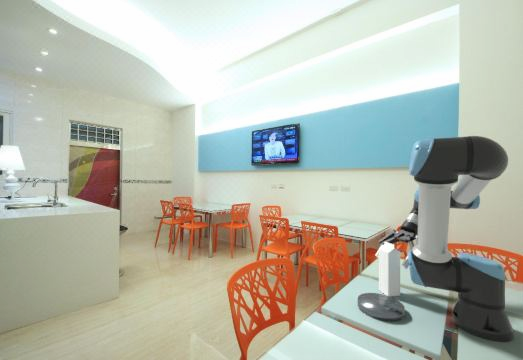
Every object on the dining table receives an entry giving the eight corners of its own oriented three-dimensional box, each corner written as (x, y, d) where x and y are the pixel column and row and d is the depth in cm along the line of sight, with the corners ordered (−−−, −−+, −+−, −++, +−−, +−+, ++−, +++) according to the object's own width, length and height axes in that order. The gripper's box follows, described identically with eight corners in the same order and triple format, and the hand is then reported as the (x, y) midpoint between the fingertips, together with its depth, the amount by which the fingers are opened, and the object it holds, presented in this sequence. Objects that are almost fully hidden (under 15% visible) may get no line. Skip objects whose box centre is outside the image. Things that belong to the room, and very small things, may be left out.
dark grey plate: (414, 315, 86) (414, 308, 86) (383, 325, 80) (383, 318, 80) (377, 296, 101) (377, 290, 101) (348, 303, 94) (348, 297, 94)
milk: (388, 297, 100) (388, 245, 100) (378, 290, 106) (378, 241, 106) (400, 295, 101) (400, 244, 101) (390, 289, 107) (390, 240, 107)
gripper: (445, 236, 100) (422, 277, 94) (392, 226, 123) (371, 258, 117) (437, 224, 98) (413, 265, 92) (385, 216, 121) (363, 249, 115)
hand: (389, 261), depth 105 cm, fingers open, 13 cm apart
